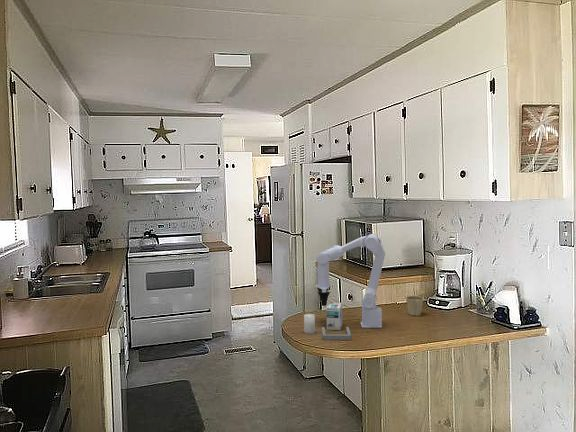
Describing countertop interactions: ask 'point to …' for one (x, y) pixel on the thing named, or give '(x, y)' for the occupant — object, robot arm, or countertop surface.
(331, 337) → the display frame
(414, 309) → the flower pot
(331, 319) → the light bulb box
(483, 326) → the countertop surface
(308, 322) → the white cylinder
